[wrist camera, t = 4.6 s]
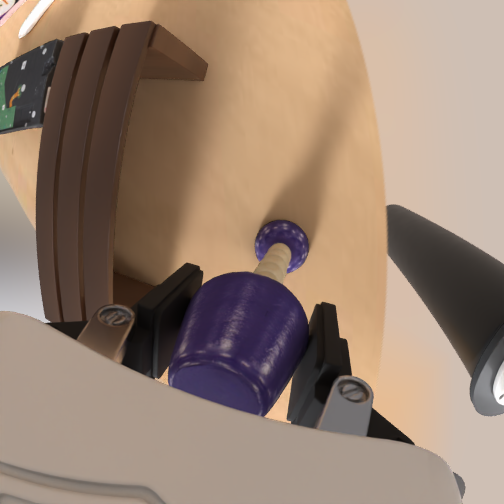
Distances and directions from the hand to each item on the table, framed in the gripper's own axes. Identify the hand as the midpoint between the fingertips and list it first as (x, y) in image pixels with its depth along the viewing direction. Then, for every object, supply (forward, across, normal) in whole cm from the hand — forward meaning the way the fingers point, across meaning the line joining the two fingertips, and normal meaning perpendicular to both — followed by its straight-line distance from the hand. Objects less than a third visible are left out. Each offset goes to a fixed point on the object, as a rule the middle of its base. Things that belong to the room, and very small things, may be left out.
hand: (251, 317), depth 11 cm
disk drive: (+12, +34, -11) cm, 38 cm away
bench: (+12, +13, -2) cm, 18 cm away
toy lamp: (+12, 0, 0) cm, 12 cm away
